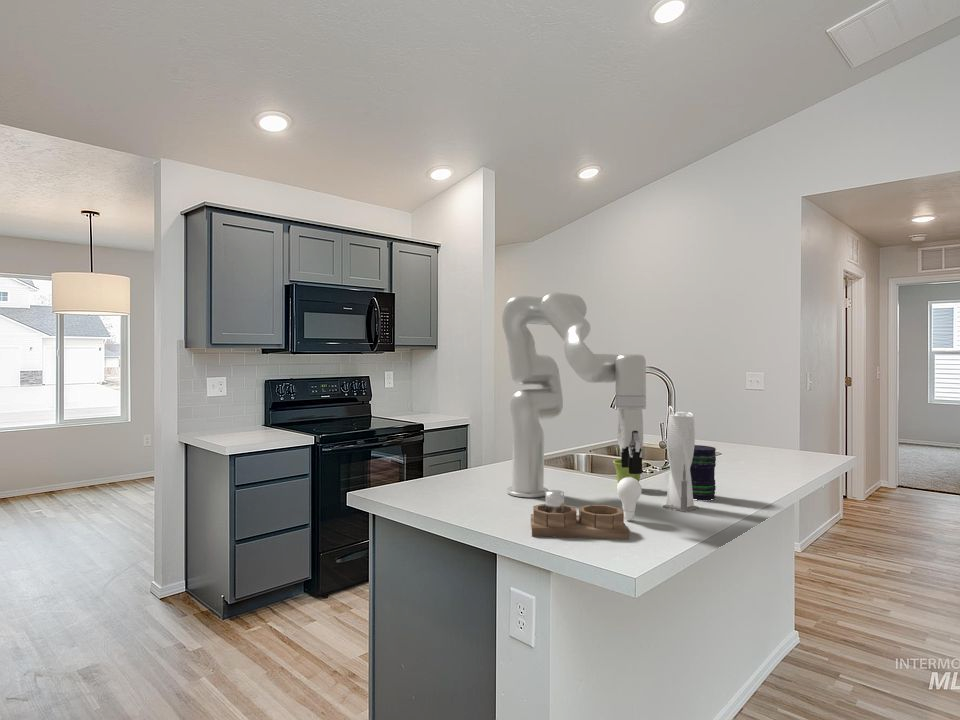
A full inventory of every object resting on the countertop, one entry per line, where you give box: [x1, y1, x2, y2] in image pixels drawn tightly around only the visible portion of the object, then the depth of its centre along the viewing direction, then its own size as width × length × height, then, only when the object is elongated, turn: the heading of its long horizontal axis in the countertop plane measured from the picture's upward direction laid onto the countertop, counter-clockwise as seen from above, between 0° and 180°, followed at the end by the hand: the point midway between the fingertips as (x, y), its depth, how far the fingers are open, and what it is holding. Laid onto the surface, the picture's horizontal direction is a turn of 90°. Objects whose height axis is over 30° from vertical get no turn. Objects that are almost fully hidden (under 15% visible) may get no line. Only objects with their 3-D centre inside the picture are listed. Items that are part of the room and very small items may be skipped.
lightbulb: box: [616, 477, 643, 522], centre depth 150 cm, size 6×6×11 cm
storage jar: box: [690, 444, 717, 501], centre depth 177 cm, size 10×10×15 cm
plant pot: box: [612, 458, 645, 484], centre depth 187 cm, size 9×9×9 cm
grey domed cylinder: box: [544, 489, 565, 513], centre depth 141 cm, size 4×4×7 cm
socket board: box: [530, 503, 630, 540], centre depth 141 cm, size 12×22×5 cm, turn 87°
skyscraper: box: [662, 405, 700, 513], centre depth 165 cm, size 8×8×28 cm
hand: (631, 470), depth 149 cm, fingers open, 9 cm apart
